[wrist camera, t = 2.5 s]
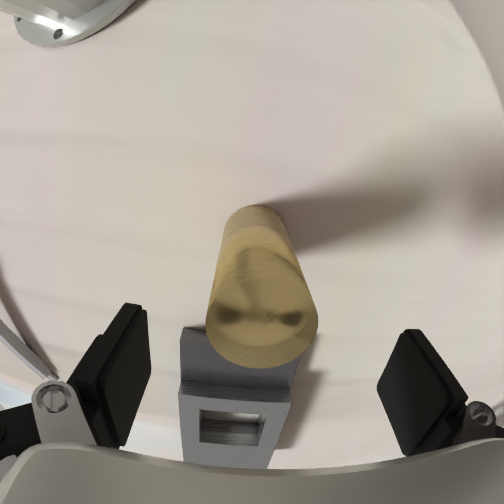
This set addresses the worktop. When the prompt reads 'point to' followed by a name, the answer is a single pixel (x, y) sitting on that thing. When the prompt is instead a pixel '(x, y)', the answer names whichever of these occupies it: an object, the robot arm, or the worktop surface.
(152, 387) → the worktop surface
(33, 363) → the caliper
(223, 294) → the pin
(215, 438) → the grey socket block
